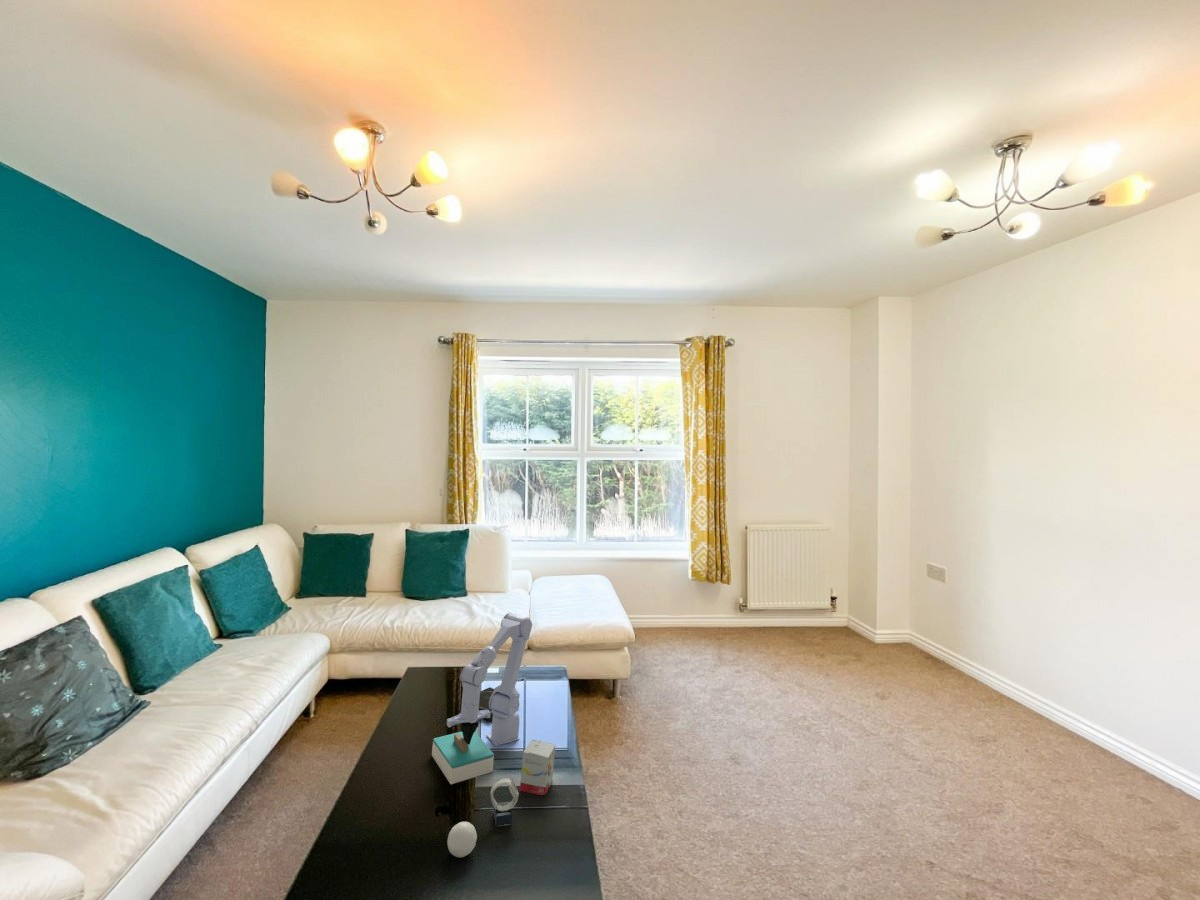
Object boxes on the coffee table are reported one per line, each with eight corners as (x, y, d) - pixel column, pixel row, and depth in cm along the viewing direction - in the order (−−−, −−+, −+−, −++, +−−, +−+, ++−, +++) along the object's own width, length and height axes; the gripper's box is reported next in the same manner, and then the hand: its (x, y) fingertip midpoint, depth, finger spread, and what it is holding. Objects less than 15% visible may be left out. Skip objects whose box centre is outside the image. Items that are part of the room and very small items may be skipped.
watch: (518, 824, 144) (521, 784, 144) (489, 828, 141) (492, 788, 141) (515, 811, 149) (518, 772, 149) (487, 815, 146) (490, 775, 147)
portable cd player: (519, 708, 212) (519, 698, 212) (489, 724, 197) (490, 713, 198) (490, 696, 221) (490, 686, 221) (459, 710, 206) (460, 700, 206)
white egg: (475, 863, 129) (478, 833, 129) (444, 866, 127) (447, 835, 127) (476, 835, 138) (478, 807, 139) (448, 837, 137) (450, 808, 137)
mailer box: (471, 744, 181) (472, 731, 182) (492, 771, 167) (493, 756, 167) (431, 755, 173) (433, 741, 173) (450, 784, 159) (452, 769, 159)
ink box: (545, 796, 157) (548, 757, 157) (518, 790, 158) (522, 751, 159) (553, 780, 165) (556, 742, 165) (528, 774, 167) (531, 738, 167)
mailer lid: (472, 730, 182) (473, 721, 182) (493, 756, 167) (494, 746, 167) (433, 740, 173) (433, 731, 173) (452, 768, 159) (453, 757, 159)
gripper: (453, 711, 164) (449, 755, 163) (495, 702, 172) (492, 743, 172) (446, 702, 169) (442, 744, 169) (486, 694, 178) (483, 733, 178)
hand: (466, 743), depth 171 cm, fingers closed
